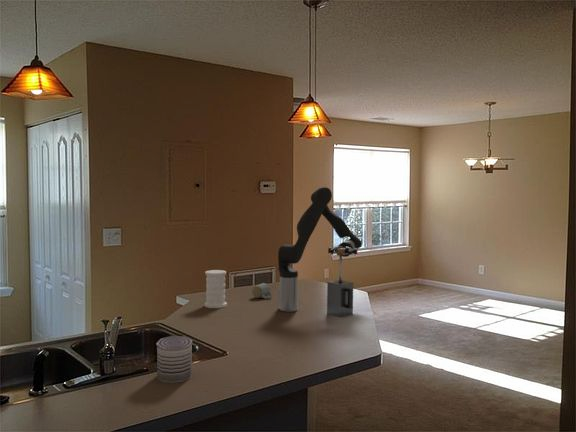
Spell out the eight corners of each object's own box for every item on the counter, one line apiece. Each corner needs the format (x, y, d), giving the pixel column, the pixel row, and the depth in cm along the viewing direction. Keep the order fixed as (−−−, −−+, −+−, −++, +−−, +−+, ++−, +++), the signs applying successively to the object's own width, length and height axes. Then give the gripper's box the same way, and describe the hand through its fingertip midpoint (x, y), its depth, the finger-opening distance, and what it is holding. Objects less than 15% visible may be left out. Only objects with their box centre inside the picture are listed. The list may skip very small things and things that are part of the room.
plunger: (330, 289, 253) (331, 248, 251) (340, 287, 257) (340, 247, 256) (340, 291, 247) (340, 250, 246) (349, 290, 252) (350, 249, 250)
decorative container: (229, 307, 265) (229, 272, 264) (207, 308, 261) (207, 274, 260) (223, 302, 276) (223, 269, 275) (202, 304, 271) (202, 270, 270)
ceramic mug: (251, 297, 288) (251, 284, 287) (259, 295, 295) (260, 282, 294) (266, 300, 282) (266, 286, 281) (274, 297, 289) (275, 284, 288)
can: (194, 370, 175) (194, 335, 174) (189, 383, 163) (189, 346, 163) (161, 370, 174) (160, 335, 174) (153, 383, 163) (153, 346, 162)
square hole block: (326, 313, 254) (327, 281, 253) (339, 311, 259) (340, 279, 258) (344, 318, 244) (344, 285, 243) (357, 315, 250) (357, 283, 249)
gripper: (333, 240, 267) (326, 244, 252) (360, 241, 263) (354, 245, 247) (332, 255, 267) (325, 259, 252) (359, 256, 263) (354, 260, 248)
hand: (340, 252), depth 250 cm, fingers open, 8 cm apart
